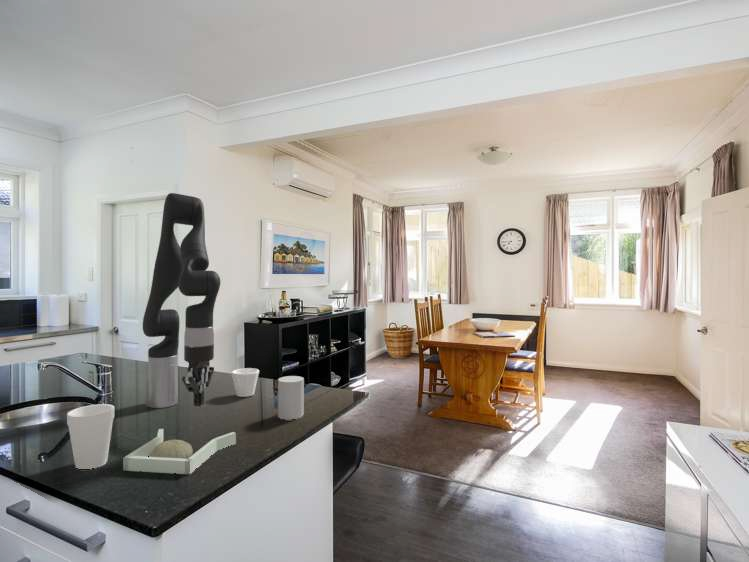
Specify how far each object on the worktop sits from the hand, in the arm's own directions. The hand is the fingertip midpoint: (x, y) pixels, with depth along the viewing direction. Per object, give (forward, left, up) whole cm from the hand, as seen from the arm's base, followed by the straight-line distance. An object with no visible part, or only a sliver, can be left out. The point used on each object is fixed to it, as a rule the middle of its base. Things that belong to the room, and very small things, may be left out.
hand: (198, 405), depth 115 cm
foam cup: (-18, -17, -10) cm, 26 cm away
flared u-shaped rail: (0, -10, -10) cm, 14 cm away
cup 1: (-5, +42, -10) cm, 43 cm away
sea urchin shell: (0, -13, -10) cm, 17 cm away
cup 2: (+19, +22, -10) cm, 31 cm away
